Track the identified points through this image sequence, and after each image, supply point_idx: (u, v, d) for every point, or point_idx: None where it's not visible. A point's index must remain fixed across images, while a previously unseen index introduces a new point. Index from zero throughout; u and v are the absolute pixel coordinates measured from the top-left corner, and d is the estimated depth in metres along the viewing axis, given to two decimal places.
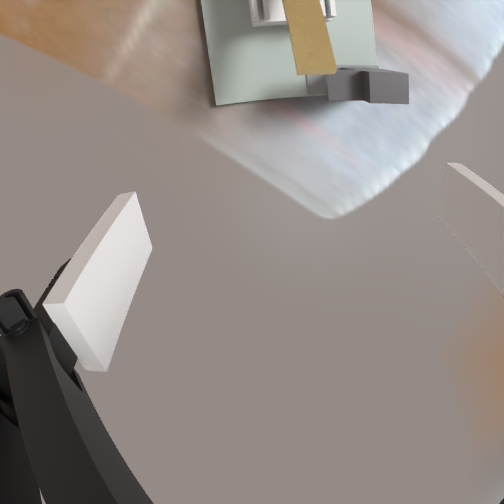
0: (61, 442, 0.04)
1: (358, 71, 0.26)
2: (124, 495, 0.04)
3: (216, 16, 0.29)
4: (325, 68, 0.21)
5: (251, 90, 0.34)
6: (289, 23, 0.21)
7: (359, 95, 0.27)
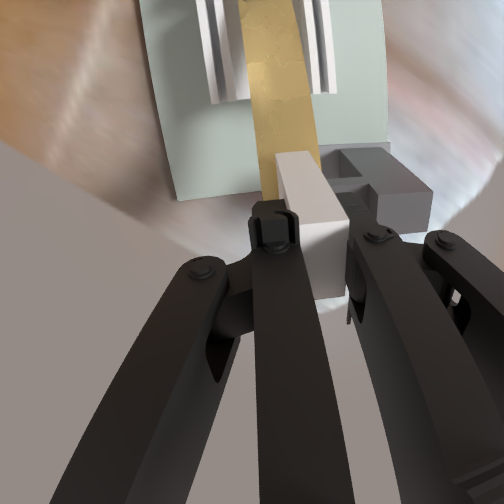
0: (306, 376, 0.05)
1: (363, 185, 0.20)
2: None
3: (169, 82, 0.23)
4: None
5: (221, 182, 0.28)
6: (257, 140, 0.15)
7: None
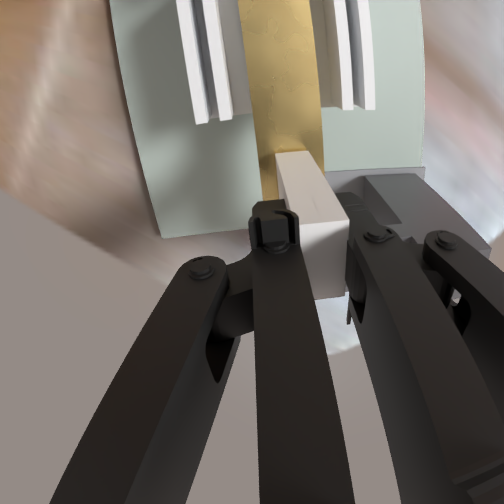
0: (306, 376, 0.05)
1: (404, 238, 0.14)
2: None
3: (146, 89, 0.18)
4: None
5: (214, 216, 0.23)
6: (262, 179, 0.15)
7: None
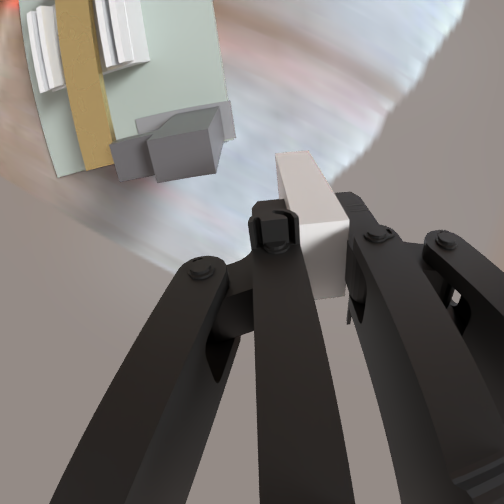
0: (306, 376, 0.05)
1: (148, 136, 0.21)
2: None
3: None
4: (107, 163, 0.23)
5: None
6: (73, 117, 0.21)
7: None
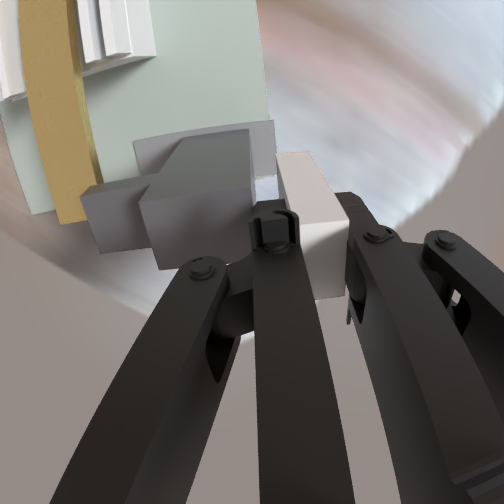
0: (306, 376, 0.05)
1: (142, 187, 0.13)
2: None
3: None
4: None
5: None
6: (38, 143, 0.13)
7: None
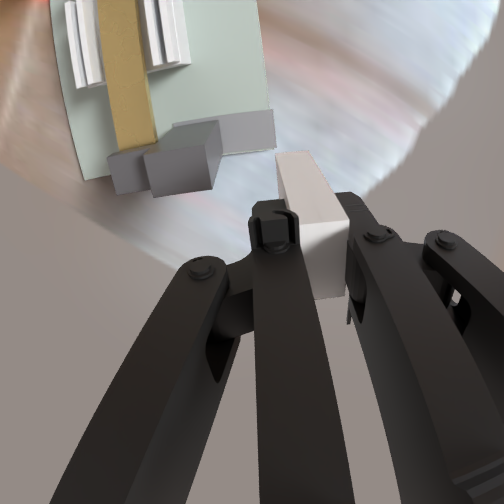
0: (306, 376, 0.05)
1: (145, 150, 0.21)
2: None
3: (72, 77, 0.24)
4: None
5: None
6: (113, 116, 0.21)
7: None
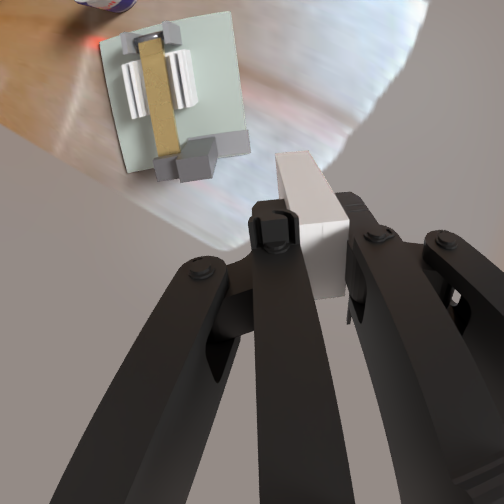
0: (305, 376, 0.05)
1: (175, 157, 0.39)
2: None
3: (120, 106, 0.42)
4: None
5: (150, 160, 0.47)
6: (154, 136, 0.39)
7: (179, 174, 0.40)
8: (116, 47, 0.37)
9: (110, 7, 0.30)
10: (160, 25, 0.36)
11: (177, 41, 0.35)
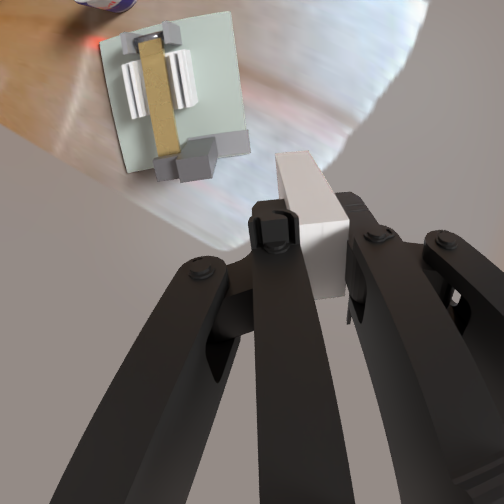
0: (306, 376, 0.05)
1: (175, 157, 0.39)
2: None
3: (120, 106, 0.42)
4: None
5: (150, 160, 0.47)
6: (154, 136, 0.39)
7: (179, 174, 0.40)
8: (116, 47, 0.37)
9: (110, 7, 0.30)
10: (160, 25, 0.36)
11: (177, 41, 0.35)
